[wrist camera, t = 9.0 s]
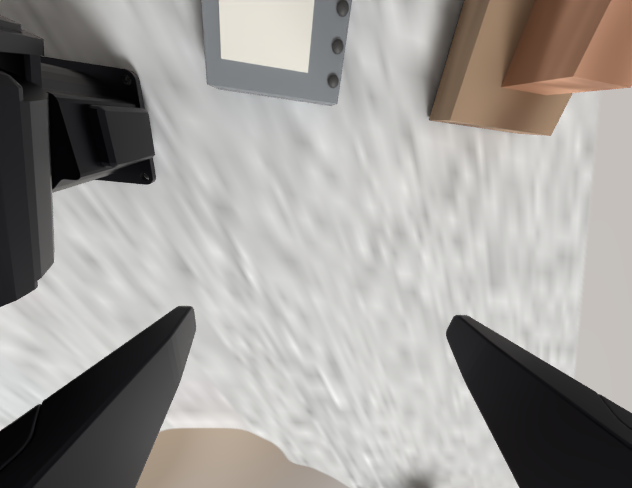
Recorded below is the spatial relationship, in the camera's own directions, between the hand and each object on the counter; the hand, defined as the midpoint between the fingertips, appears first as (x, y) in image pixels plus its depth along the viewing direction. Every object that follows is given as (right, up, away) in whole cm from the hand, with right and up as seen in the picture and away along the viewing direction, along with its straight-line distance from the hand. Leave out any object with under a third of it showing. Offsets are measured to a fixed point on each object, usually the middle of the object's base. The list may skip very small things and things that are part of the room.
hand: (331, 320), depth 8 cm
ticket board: (-2, +15, +5) cm, 17 cm away
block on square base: (+11, +14, +7) cm, 20 cm away
